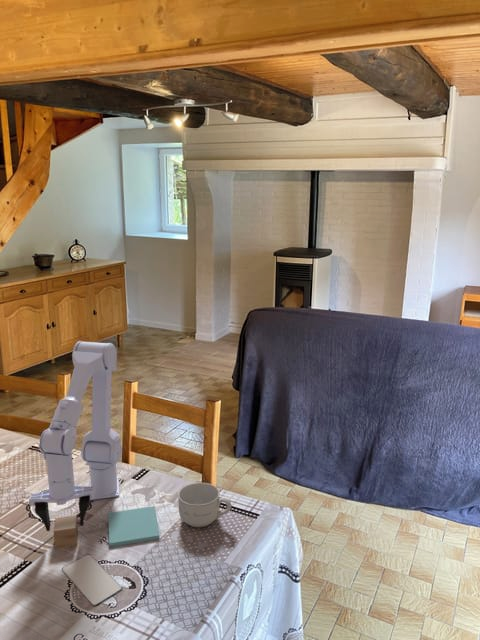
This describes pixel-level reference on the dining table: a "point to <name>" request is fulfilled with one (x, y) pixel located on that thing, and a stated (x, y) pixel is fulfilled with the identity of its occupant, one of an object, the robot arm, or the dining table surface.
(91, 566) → the smartphone
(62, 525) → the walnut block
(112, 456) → the robot arm
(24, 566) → the dining table surface
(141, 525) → the teal square plate
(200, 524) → the teacup
